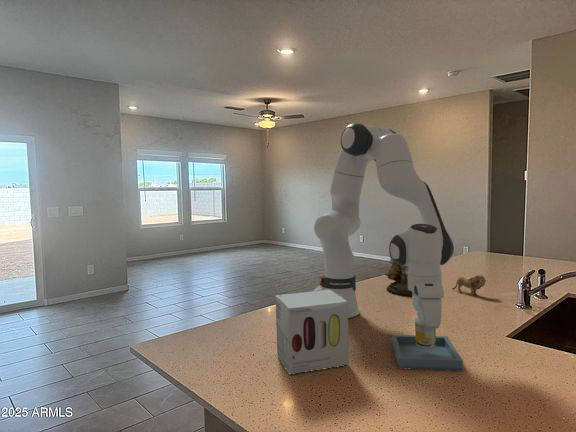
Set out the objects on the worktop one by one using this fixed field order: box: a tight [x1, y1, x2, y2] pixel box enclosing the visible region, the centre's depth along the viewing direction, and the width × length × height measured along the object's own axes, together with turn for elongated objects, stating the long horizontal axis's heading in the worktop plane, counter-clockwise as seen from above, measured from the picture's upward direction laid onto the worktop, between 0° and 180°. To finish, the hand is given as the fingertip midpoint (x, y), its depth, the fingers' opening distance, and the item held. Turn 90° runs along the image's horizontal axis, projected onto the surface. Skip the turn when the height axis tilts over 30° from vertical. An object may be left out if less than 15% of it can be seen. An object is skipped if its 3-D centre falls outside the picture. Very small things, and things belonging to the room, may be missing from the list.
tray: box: [391, 334, 464, 372], centre depth 109 cm, size 16×16×3 cm
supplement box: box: [275, 289, 350, 375], centre depth 108 cm, size 17×13×18 cm
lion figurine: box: [451, 274, 487, 297], centre depth 166 cm, size 15×5×9 cm, turn 36°
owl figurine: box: [384, 258, 412, 298], centre depth 172 cm, size 18×12×17 cm, turn 39°
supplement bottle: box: [414, 310, 437, 349], centre depth 108 cm, size 5×5×10 cm
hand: (425, 332), depth 108 cm, fingers closed on supplement bottle, 5 cm apart
